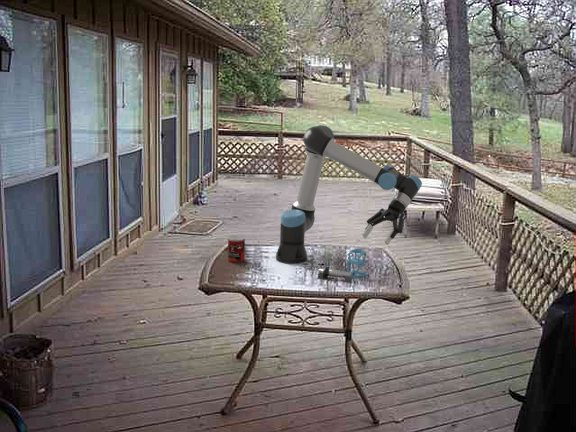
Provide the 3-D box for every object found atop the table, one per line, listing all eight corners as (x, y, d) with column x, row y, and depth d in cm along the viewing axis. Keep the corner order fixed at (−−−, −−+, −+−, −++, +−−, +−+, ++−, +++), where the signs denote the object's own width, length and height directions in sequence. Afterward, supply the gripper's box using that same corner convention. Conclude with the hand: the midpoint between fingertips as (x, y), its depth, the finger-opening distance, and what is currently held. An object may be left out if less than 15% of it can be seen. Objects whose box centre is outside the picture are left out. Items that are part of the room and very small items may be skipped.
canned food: (224, 261, 293) (225, 238, 291) (232, 257, 300) (233, 235, 298) (239, 263, 290) (240, 240, 288) (247, 259, 297) (247, 237, 295)
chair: (343, 276, 277) (344, 250, 275) (353, 272, 284) (355, 246, 281) (358, 280, 272) (359, 253, 270) (368, 275, 279) (369, 250, 276)
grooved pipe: (317, 278, 272) (318, 267, 271) (320, 275, 277) (320, 265, 276) (350, 282, 268) (350, 271, 267) (351, 279, 273) (352, 268, 272)
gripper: (423, 214, 280) (399, 250, 274) (382, 204, 299) (358, 239, 293) (417, 203, 276) (392, 240, 270) (375, 194, 295) (351, 229, 289)
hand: (374, 239), depth 281 cm, fingers open, 13 cm apart
